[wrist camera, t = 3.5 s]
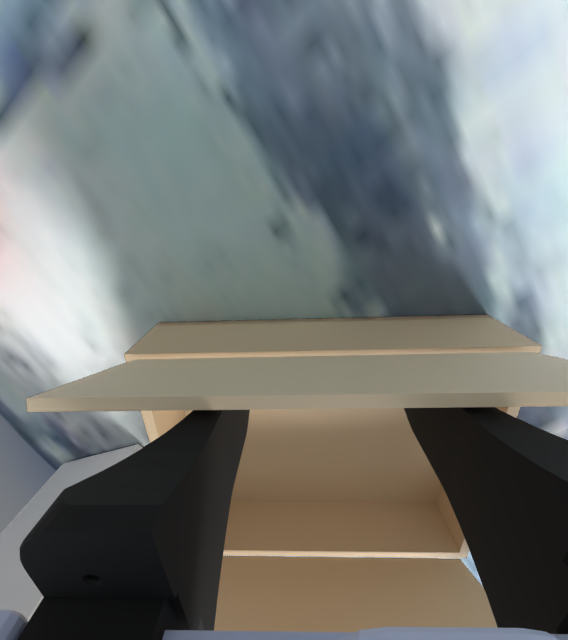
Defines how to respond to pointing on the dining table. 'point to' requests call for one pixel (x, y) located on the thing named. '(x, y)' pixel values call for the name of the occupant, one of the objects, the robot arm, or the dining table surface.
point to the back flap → (347, 594)
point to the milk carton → (4, 549)
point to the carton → (333, 439)
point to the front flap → (317, 383)
